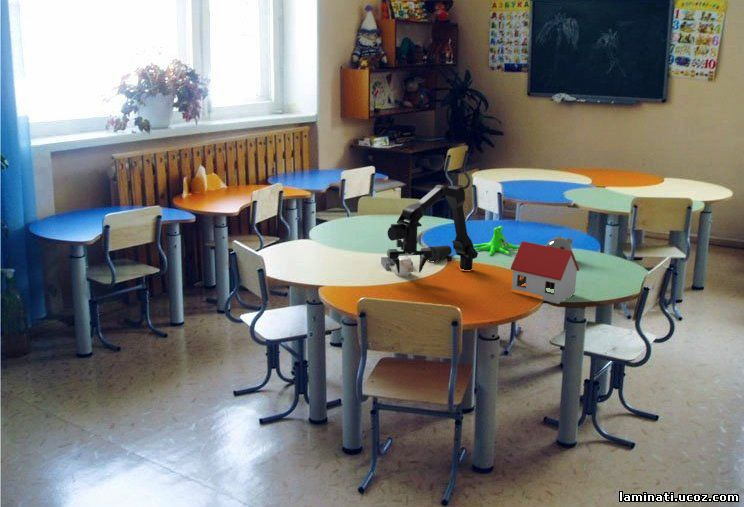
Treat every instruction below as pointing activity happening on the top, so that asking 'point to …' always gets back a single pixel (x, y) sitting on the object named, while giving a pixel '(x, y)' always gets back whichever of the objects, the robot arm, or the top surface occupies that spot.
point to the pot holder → (388, 262)
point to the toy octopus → (496, 243)
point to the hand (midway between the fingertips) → (409, 272)
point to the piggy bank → (561, 243)
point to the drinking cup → (439, 252)
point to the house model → (545, 271)
